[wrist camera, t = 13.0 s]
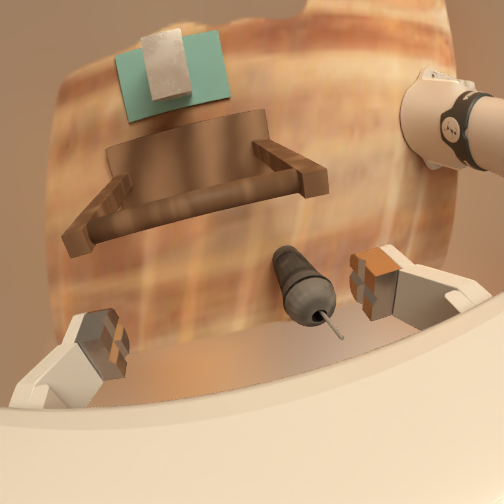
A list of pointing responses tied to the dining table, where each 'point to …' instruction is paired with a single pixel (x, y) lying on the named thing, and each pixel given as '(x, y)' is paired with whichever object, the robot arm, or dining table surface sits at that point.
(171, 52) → the tall rectangular pillar
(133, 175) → the stand
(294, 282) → the beverage cup
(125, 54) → the mat
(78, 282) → the dining table surface
